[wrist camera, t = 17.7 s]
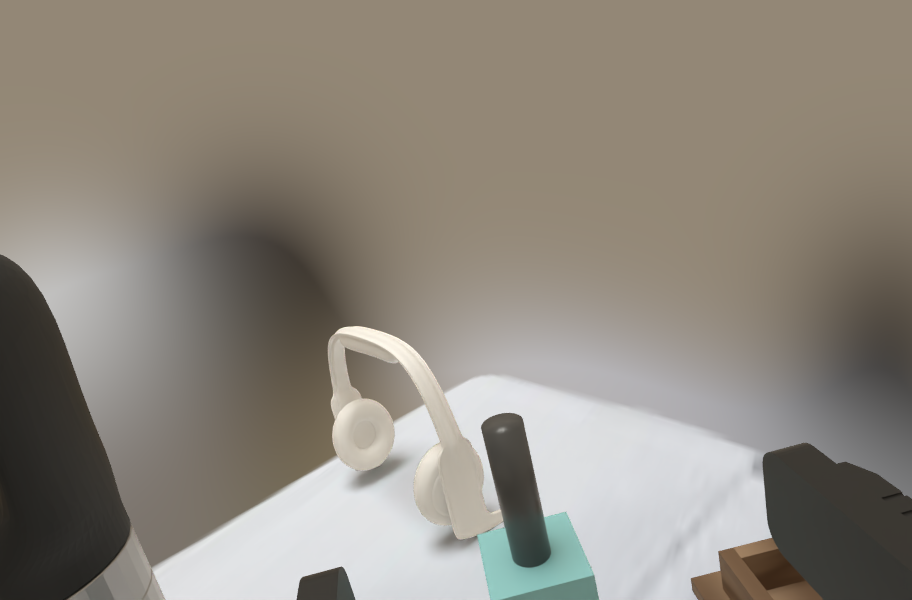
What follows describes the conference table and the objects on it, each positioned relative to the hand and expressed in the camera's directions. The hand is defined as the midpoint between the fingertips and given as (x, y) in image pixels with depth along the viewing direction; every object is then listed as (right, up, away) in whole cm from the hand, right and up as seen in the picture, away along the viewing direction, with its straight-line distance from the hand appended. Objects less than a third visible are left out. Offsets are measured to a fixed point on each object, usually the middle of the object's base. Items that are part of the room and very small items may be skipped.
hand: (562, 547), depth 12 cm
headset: (-6, -15, +49) cm, 52 cm away
